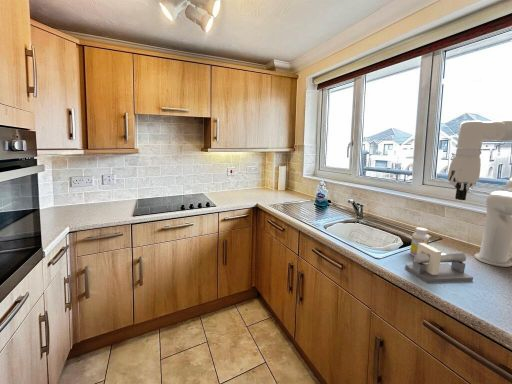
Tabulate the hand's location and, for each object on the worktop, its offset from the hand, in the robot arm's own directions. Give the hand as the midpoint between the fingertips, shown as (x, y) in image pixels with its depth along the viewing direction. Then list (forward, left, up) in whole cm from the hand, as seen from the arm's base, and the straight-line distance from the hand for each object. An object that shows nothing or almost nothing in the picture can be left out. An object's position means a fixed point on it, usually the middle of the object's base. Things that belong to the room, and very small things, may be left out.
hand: (460, 199), depth 108 cm
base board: (+11, +6, -29) cm, 32 cm away
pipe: (+11, +6, -28) cm, 30 cm away
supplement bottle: (+5, -12, -29) cm, 32 cm away
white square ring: (+16, +6, -27) cm, 31 cm away
